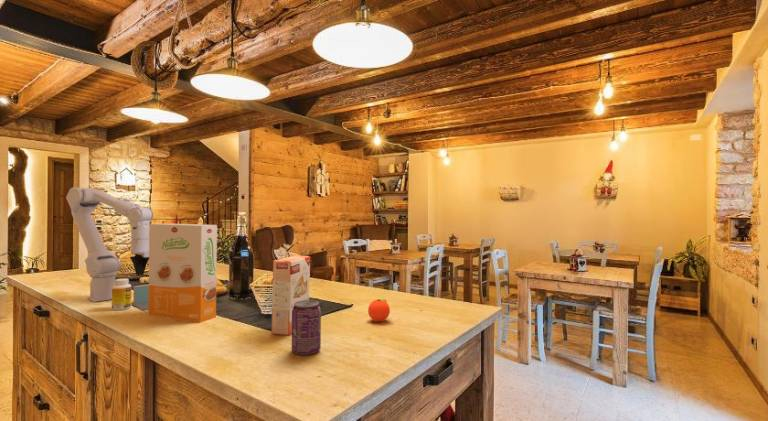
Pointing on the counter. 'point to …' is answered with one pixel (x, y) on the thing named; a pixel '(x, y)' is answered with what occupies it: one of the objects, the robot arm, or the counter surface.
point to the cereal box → (183, 271)
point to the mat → (142, 306)
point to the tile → (141, 294)
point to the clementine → (379, 310)
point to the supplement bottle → (121, 294)
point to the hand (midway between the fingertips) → (139, 274)
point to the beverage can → (306, 327)
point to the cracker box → (288, 290)
